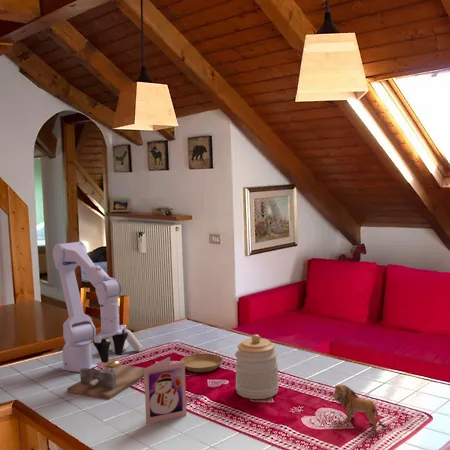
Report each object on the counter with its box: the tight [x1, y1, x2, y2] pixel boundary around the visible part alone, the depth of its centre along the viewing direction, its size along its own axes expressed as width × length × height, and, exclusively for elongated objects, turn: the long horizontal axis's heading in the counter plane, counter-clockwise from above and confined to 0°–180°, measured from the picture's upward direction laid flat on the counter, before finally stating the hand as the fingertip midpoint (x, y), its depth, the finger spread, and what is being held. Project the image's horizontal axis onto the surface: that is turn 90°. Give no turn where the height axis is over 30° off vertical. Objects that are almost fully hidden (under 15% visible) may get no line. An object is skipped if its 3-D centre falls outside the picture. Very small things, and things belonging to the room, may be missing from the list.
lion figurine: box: [332, 383, 387, 431], centre depth 147 cm, size 15×5×9 cm, turn 50°
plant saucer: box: [179, 353, 224, 373], centre depth 194 cm, size 15×15×3 cm
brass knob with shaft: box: [90, 358, 121, 387], centre depth 178 cm, size 5×13×5 cm, turn 155°
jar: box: [234, 334, 279, 400], centre depth 169 cm, size 13×13×18 cm
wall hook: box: [108, 328, 143, 354], centre depth 213 cm, size 8×10×10 cm
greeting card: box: [143, 356, 187, 424], centre depth 154 cm, size 11×7×15 cm, turn 114°
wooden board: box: [66, 364, 146, 400], centre depth 181 cm, size 16×24×6 cm, turn 155°
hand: (111, 358), depth 181 cm, fingers open, 7 cm apart
